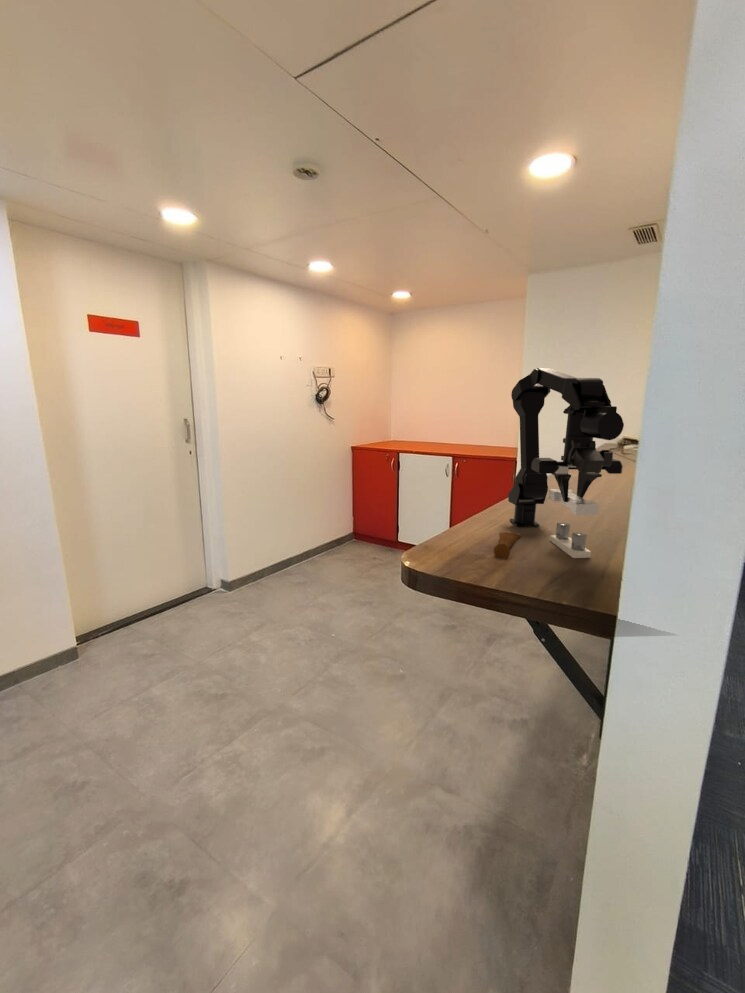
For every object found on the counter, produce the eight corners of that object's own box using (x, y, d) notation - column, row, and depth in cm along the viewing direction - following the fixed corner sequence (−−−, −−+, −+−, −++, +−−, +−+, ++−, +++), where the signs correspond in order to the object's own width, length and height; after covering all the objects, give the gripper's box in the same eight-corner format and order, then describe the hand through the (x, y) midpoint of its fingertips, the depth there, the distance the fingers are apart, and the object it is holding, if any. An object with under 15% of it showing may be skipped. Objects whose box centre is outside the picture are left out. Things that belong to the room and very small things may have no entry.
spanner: (575, 515, 97) (576, 504, 97) (548, 498, 112) (549, 489, 111) (597, 514, 97) (598, 504, 97) (567, 498, 112) (568, 488, 111)
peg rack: (550, 540, 113) (552, 522, 112) (565, 540, 113) (567, 521, 112) (573, 558, 101) (575, 537, 100) (590, 557, 101) (592, 536, 100)
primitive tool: (499, 533, 120) (500, 521, 119) (520, 536, 118) (522, 523, 117) (492, 558, 102) (493, 544, 102) (517, 562, 101) (518, 547, 100)
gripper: (551, 439, 93) (544, 511, 96) (641, 439, 93) (630, 511, 96) (533, 433, 103) (527, 498, 107) (613, 433, 103) (605, 498, 107)
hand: (571, 501), depth 104 cm, fingers closed on spanner, 3 cm apart
